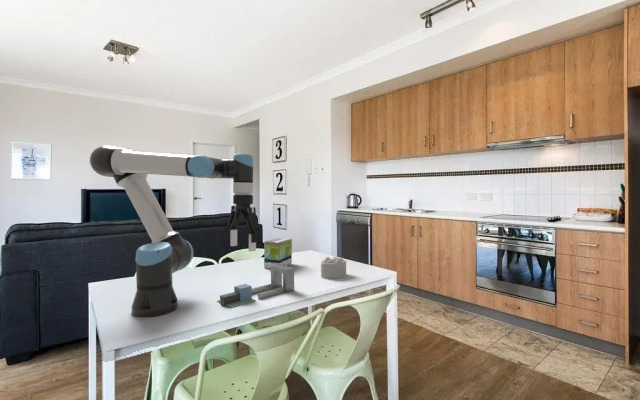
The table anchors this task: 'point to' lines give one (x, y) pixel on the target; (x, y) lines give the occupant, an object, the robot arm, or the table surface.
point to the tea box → (277, 252)
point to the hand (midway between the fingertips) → (242, 248)
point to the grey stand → (277, 282)
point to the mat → (238, 303)
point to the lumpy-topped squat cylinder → (333, 268)
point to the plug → (237, 294)
